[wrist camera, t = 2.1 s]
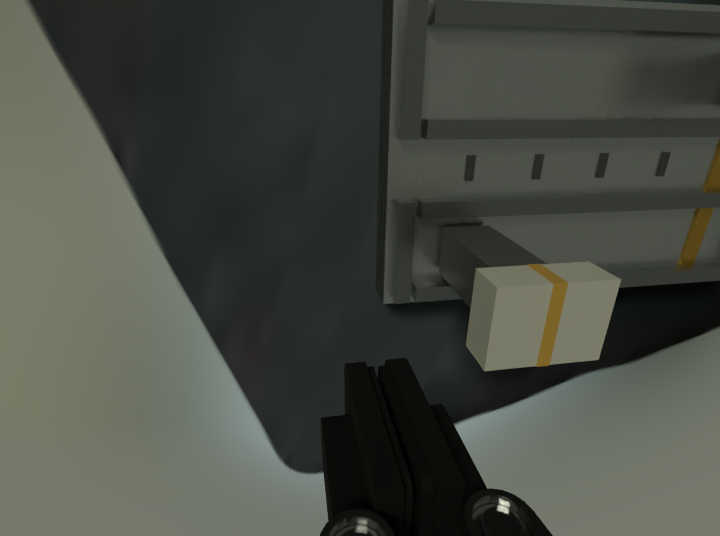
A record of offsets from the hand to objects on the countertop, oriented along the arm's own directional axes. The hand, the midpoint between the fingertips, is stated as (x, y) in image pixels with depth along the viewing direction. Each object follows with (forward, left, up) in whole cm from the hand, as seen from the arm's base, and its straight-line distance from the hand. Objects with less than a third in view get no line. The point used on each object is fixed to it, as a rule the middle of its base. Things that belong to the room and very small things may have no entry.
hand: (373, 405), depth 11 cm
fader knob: (-1, +7, -10) cm, 12 cm away
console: (-5, +14, -12) cm, 19 cm away
